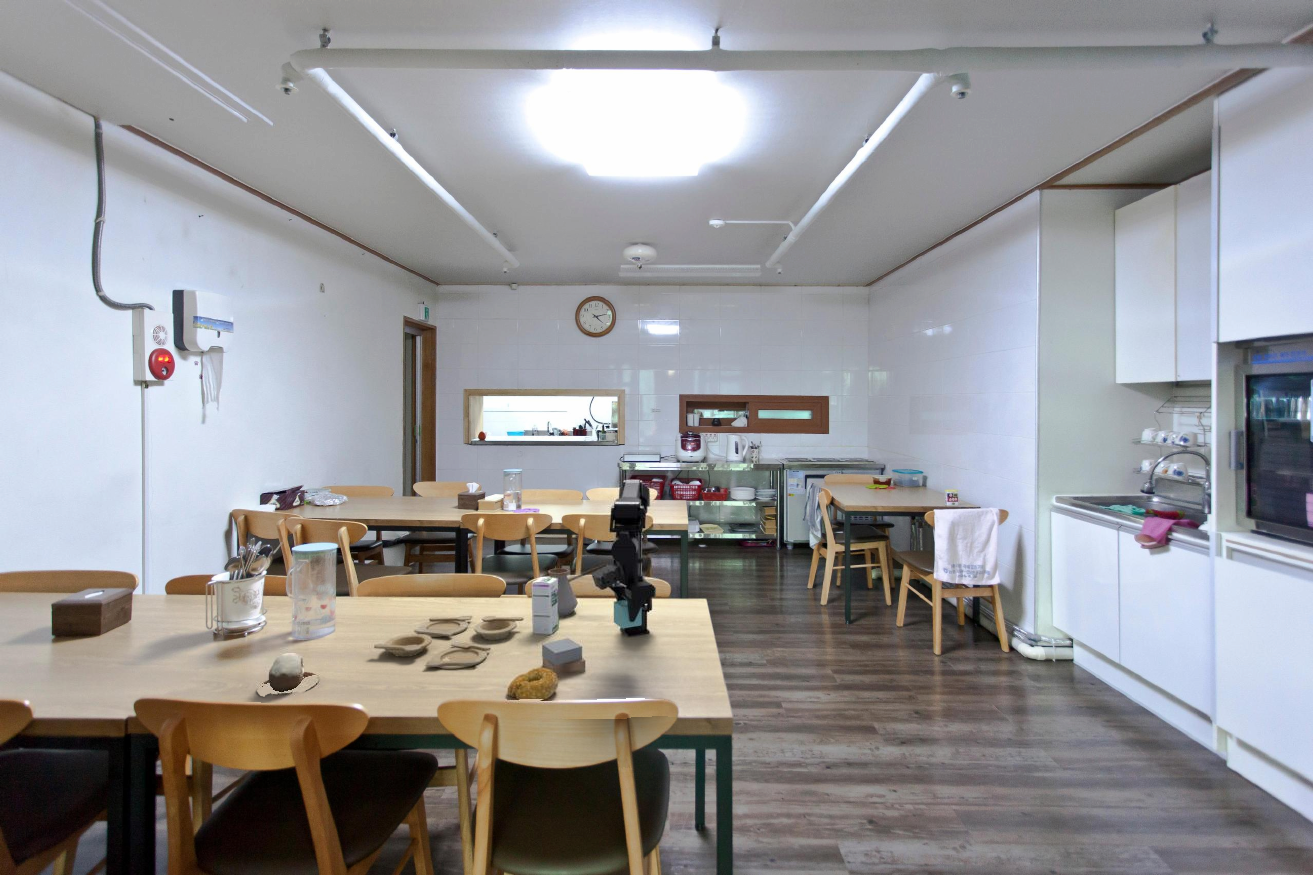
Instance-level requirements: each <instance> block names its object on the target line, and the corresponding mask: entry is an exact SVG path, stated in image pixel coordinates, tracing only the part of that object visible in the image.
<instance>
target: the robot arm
mask: <svg viewBox="0 0 1313 875" xmlns="http://www.w3.org/2000/svg"><path fill="white" fill-rule="evenodd" d="M650 493H651V492H650V488H649V487H647V486H646V485H645V484H643V480H640V479H625V480H623V483H622V486H620V487H619V490H618V498H616V499H615V500H614V504H613V505H611V507H610V517H609V518H610V520H609V521H610V522H609V533H615V539H614V541H613V543H612V546H611V548H610V554H611V556H612V557H611V560H610V562H611V563H610V564H608V566H605V567H603V568H601V569H599V570H597V571H595V572H593V573H591V578H592V579H593V582H594V585H595V587H597V588H598V589H599V590H601V591H603V590H606V589H610V591H612V592H613V593H614V597H615V600H616V601H621V600H627V605H628V613H629V619H630V622H634V621H635V619H636V617H637V615H638V613H639V611H640V609H641V607H642V625H640V626H634V627H628V628H621V627H619V630H620V632H622V633H624V634H625V635H626V636H627V637H634V636H639V635H645V634H650V633H651V631H650V630H649V629H648V613H650V612H651V611H652V610H653V599H652V598H655V597H656V595H657V592H656V591H657V590H656V589H657V588H656V587H655V585H653V584H652V583H650V582H649V581H647V580H646V579H645V577H644V576H643V573H642V572H643V569H642V568H643V567H642V566H643V562H644V560H643V558H642V557H643V531H644V529H646V523H647V522H646V519H647V513H648V508H649V507H650V506H651V494H650Z"/></svg>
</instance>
